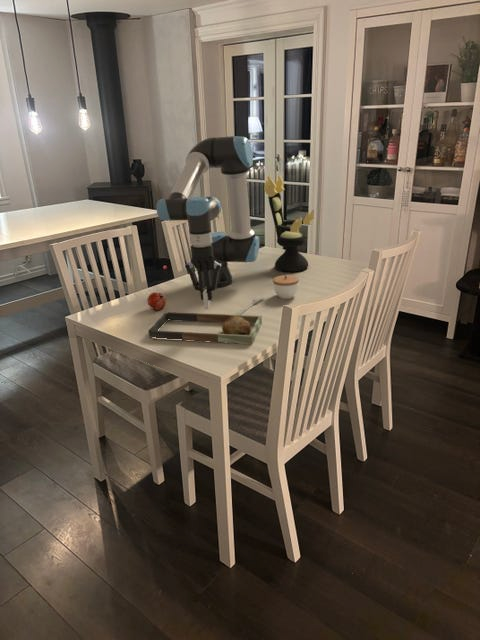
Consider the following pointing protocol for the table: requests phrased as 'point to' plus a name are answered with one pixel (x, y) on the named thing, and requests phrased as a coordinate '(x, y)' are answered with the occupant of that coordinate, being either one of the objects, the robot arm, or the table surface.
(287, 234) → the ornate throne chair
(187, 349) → the table surface
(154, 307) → the pomegranate
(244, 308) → the fork
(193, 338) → the multicolored rectangular frame
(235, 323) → the bread roll
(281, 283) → the lidded jar
